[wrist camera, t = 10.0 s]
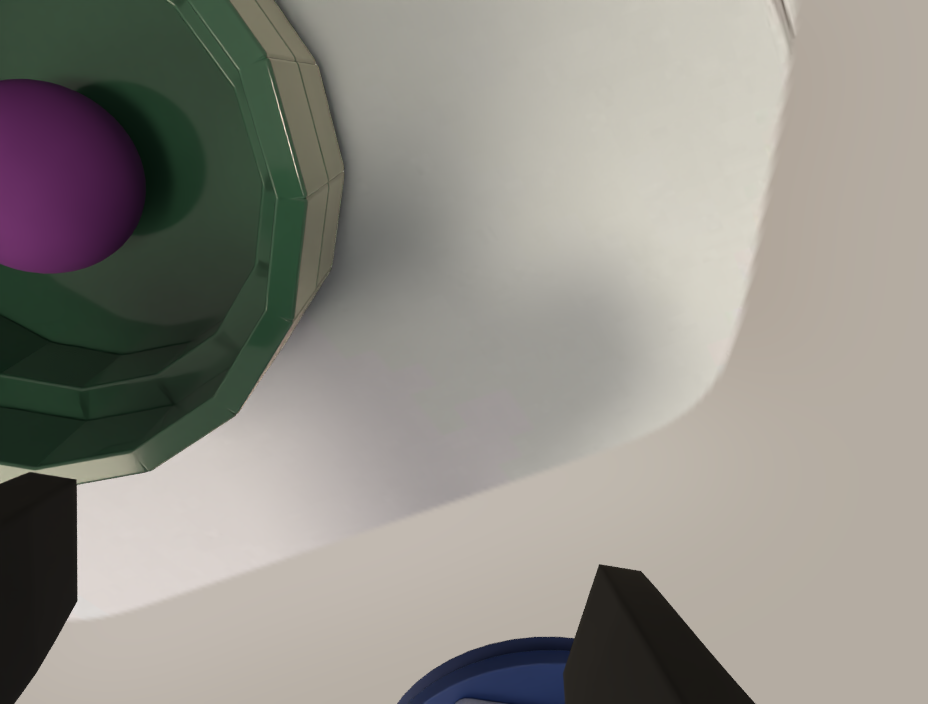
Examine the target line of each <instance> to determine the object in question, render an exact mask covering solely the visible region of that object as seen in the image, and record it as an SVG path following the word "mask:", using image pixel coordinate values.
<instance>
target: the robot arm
mask: <svg viewBox="0 0 928 704" xmlns="http://www.w3.org/2000/svg"><path fill="white" fill-rule="evenodd" d="M76 602H77V479H70V478H64V477H58V476H52V475H46V474H40V473H34V472H28V473H26V474H23V475H20V476H18V477H15V478H13V479H10V480H8V481H5V482H3V483H1V484H0V704H14V703H15V702H16V700H17V699H18V698H19V696H20V695H21V694H22V692H23V691H24V690H25V688H26V687H27V685H28V684H29V683H30V681H31V680H32V678H33V677H34V676H35V674H36V673H37V671H38V669H39V668H40V666H41V664H42V662H43V661H44V659H45V657H46V656H47V654H48V652H49V650H50V649H51V647H52V646H53V644H54V642H55V640H56V639H57V637H58V635H59V633H60V631H61V630H62V628H63V626H64V624H65V622H66V621H67V619H68V617H69V615H70V613H71V611H72V610H73V608H74V606H75V604H76ZM563 681H564V696H565V704H755V703H754V702H753V701H752V699H751V698H750V697H749V696H748V695H747V694H746V693H745V692H744V690H743V689H742V688H741V687H740V686H739V685H738V684H737V683H736V681H734V679H733V678H732V677H731V676H730V675H729V674H728V673H727V671H726V670H725V669H724V668H723V667H722V665H721V664H720V663H719V662H718V661H717V660H716V658H715V657H714V656H713V655H712V654H711V653H710V651H709V650H708V649H707V648H706V647H705V645H704V644H703V643H702V642H701V641H700V640H699V638H698V637H697V636H696V635H695V634H694V632H693V631H692V630H691V629H690V628H689V627H688V625H687V624H686V623H685V622H684V621H683V619H682V618H681V617H680V616H679V615H678V613H677V612H676V611H675V610H674V609H673V607H672V606H671V605H670V604H669V603H668V601H667V600H666V599H665V598H664V597H663V596H662V594H661V593H660V592H659V591H658V590H657V589H656V587H655V586H654V585H653V584H652V583H651V582H650V581H649V579H647V578H646V576H645V575H644V574H643V573H642V572H641V571H636V570H631V569H625V568H618V567H612V566H606V565H599V567H598V570H597V573H596V576H595V579H594V582H593V585H592V588H591V591H590V594H589V597H588V600H587V603H586V606H585V609H584V612H583V615H582V618H581V621H580V624H579V627H578V630H577V633H576V636H575V639H574V642H573V645H572V648H571V651H570V654H569V657H568V660H567V663H566V666H565V669H564V672H563ZM455 704H506V703H499V702H492V701H485V700H478V699H471V698H464V699H461V700H459V701H457V702H456V703H455Z"/></svg>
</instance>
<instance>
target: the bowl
mask: <svg viewBox="0 0 928 704" xmlns="http://www.w3.org/2000/svg"><path fill="white" fill-rule="evenodd" d="M315 64H316V61H315V59H314V58H313V56H312V55H311V53H310V52H309V50H308V49H307V47H306V46H305V45H304V43H303V42H302V40H301V39H300V37H299V36H298V34H297V33H296V31H295V30H294V29H293V27H292V26H291V24H290V23H289V21H288V20H287V18H286V17H285V15H284V14H283V12H282V11H281V10H280V8H279V7H278V5H277V4H276V2H275V1H274V0H0V81H1V80H8V79H32V80H39V81H46V82H51V83H54V84H58V85H61V86H64V87H66V88H69V89H71V90H74V91H76V92H79V93H80V94H82V95H84V96H86V97H88V98H90V99H91V100H93V101H94V102H96V103H97V104H98V105H100V106H101V107H102V108H104V109H105V110H106V111H107V112H108V113H109V114H110V115H112V116H113V117H114V118H115V119H116V120H117V121H118V123H119V124H120V125H121V126H122V127H123V128H124V130H125V131H126V132H127V134H128V135H129V136H130V138H131V140H132V142H133V143H134V145H135V147H136V149H137V151H138V154H139V156H140V158H141V162H142V165H143V168H144V174H145V180H146V196H145V204H144V208H143V212H142V216H141V218H140V220H139V223H138V225H137V227H136V228H135V230H134V232H133V233H132V235H131V236H130V237H129V239H128V240H127V241H126V242H125V243H124V245H123V246H122V247H120V248H119V249H118V250H117V251H116V252H115V253H113V254H112V255H110V256H109V257H107V258H106V259H104V260H103V261H101V262H99V263H96V264H94V265H92V266H89V267H87V268H83V269H80V270H76V271H71V272H64V273H50V274H43V273H35V272H27V271H22V270H17V269H13V268H10V267H7V266H5V265H2V264H0V484H1V483H3V482H5V481H8V480H10V479H13V478H15V477H18V476H20V475H23V474H26V473H28V472H34V473H40V474H46V475H52V476H58V477H64V478H70V479H77V485H78V484H84V483H90V482H95V481H101V480H106V479H112V478H117V477H123V476H128V475H134V474H140V473H145V472H148V471H152V470H153V469H155V468H156V467H158V466H160V465H161V464H163V463H164V462H166V461H167V460H169V459H170V458H172V457H173V456H175V455H176V454H178V453H179V452H181V451H183V450H184V449H186V448H187V447H189V446H190V445H192V444H193V443H195V442H196V441H198V440H199V439H201V438H202V437H204V436H206V435H207V434H209V433H210V432H212V431H213V430H215V429H216V428H218V427H219V426H221V425H222V424H224V423H226V422H227V421H229V420H230V419H232V418H233V417H235V416H236V414H237V413H239V411H240V410H241V408H242V407H243V405H244V404H245V403H246V401H247V400H248V398H249V397H250V395H251V394H252V392H253V391H254V389H255V388H256V386H257V385H258V383H259V382H260V380H261V379H262V377H263V376H264V374H265V373H266V371H267V370H268V368H269V367H270V365H271V364H272V363H273V361H274V360H275V358H276V357H277V355H278V354H279V352H280V351H281V349H282V348H283V346H284V345H285V343H286V342H287V340H288V339H289V337H290V335H291V334H292V332H293V331H294V329H295V327H296V326H297V324H298V322H299V321H300V319H301V318H302V316H303V314H304V313H305V311H306V309H307V308H308V306H309V305H310V303H311V301H312V300H313V298H314V296H315V295H316V293H317V292H318V290H319V288H320V287H321V285H322V283H323V282H324V280H325V279H326V277H327V275H328V274H329V272H330V270H331V266H332V264H333V257H334V250H335V242H336V235H337V227H338V220H339V212H340V205H341V197H342V190H343V183H344V172H343V171H344V165H343V161H342V157H341V153H340V149H339V145H338V141H337V137H336V133H335V129H334V125H333V121H332V117H331V114H330V110H329V106H328V102H327V98H326V94H325V90H324V86H323V82H322V78H321V74H320V70H319V67H318V65H315Z"/></svg>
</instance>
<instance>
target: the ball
mask: <svg viewBox="0 0 928 704" xmlns="http://www.w3.org/2000/svg"><path fill="white" fill-rule="evenodd" d="M145 196H146V180H145V174H144V168H143V165H142V162H141V158H140V156H139V154H138V151H137V149H136V147H135V145H134V143H133V142H132V140H131V138H130V136H129V135H128V134H127V132H126V131H125V130H124V128H123V127H122V126H121V125H120V124H119V123H118V121H117V120H116V119H115V118H114V117H113V116H112V115H110V114H109V113H108V112H107V111H106V110H105V109H104V108H102V107H101V106H100V105H98V104H97V103H96V102H94V101H93V100H91V99H90V98H88V97H86V96H84V95H82V94H80V93H79V92H76V91H74V90H71V89H69V88H66V87H64V86H61V85H58V84H54V83H51V82H46V81H39V80H32V79H8V80H1V81H0V264H2V265H5V266H7V267H10V268H13V269H17V270H22V271H27V272H35V273H43V274H50V273H64V272H71V271H76V270H80V269H83V268H87V267H89V266H92V265H94V264H96V263H99V262H101V261H103V260H104V259H106V258H107V257H109V256H110V255H112V254H113V253H115V252H116V251H117V250H118V249H119V248H120V247H122V246H123V245H124V243H125V242H126V241H127V240H128V239H129V237H130V236H131V235H132V233H133V232H134V230H135V228H136V227H137V225H138V223H139V220H140V218H141V216H142V212H143V208H144V204H145Z"/></svg>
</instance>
